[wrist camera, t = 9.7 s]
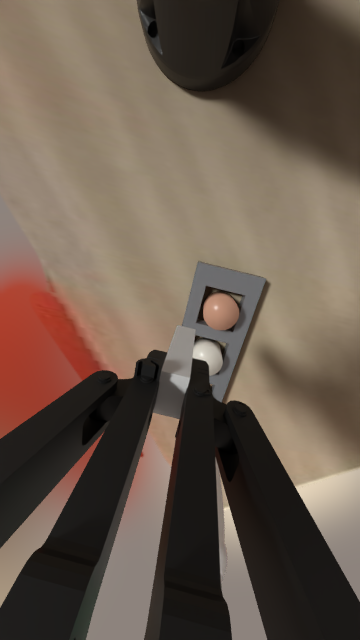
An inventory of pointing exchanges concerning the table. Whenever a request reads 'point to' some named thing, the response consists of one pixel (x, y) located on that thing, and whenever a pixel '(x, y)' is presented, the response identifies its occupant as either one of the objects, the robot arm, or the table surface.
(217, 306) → the button terracotta
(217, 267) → the panel
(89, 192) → the table surface
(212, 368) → the button ivory
